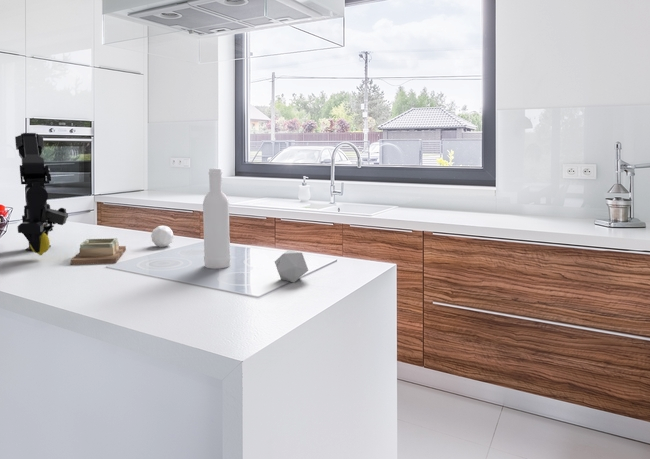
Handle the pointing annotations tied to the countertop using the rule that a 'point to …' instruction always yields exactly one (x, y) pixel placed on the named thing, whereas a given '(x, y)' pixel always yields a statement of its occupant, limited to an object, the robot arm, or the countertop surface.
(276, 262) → the die
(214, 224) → the bottle
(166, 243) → the ball
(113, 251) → the plinth
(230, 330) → the countertop surface
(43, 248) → the lemon
